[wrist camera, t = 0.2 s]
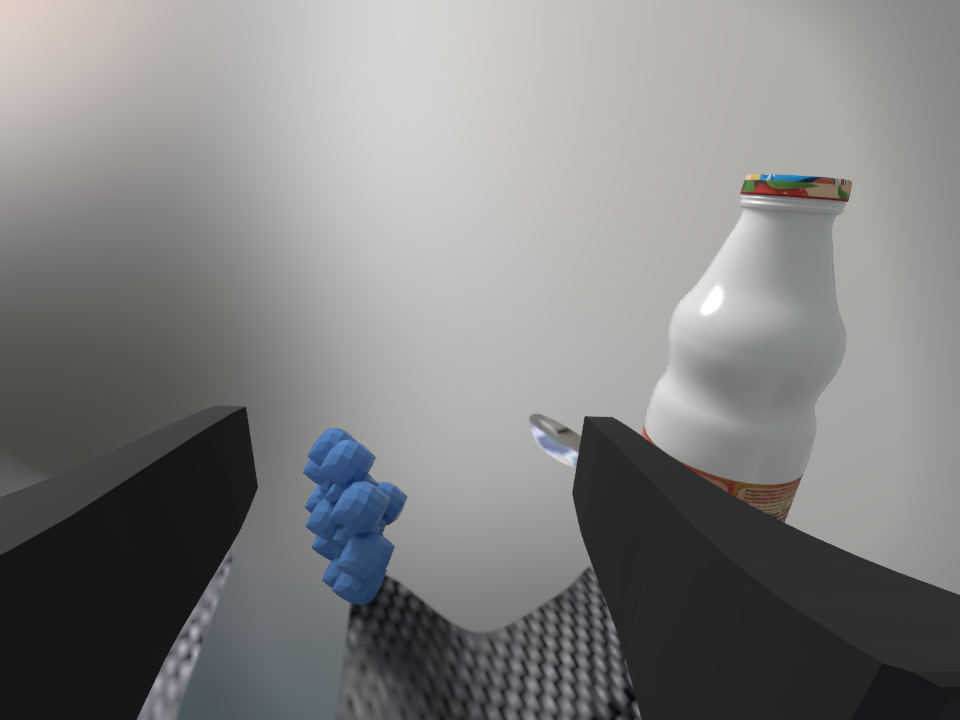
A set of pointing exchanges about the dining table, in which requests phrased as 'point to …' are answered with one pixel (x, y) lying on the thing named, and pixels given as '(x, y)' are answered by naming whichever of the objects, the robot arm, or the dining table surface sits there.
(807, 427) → the fruit juice
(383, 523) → the grapes
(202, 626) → the dining table surface
